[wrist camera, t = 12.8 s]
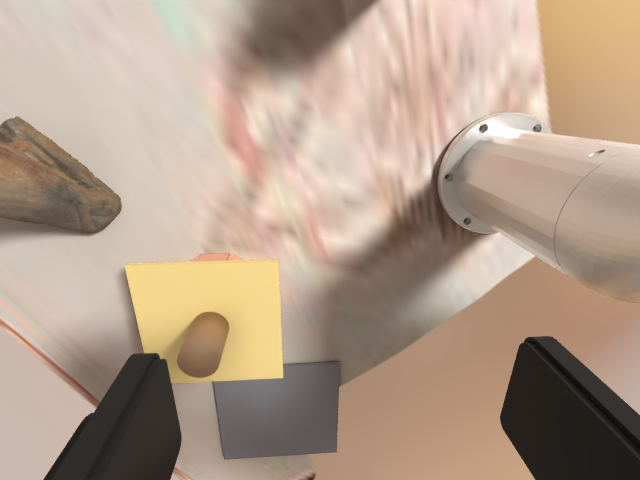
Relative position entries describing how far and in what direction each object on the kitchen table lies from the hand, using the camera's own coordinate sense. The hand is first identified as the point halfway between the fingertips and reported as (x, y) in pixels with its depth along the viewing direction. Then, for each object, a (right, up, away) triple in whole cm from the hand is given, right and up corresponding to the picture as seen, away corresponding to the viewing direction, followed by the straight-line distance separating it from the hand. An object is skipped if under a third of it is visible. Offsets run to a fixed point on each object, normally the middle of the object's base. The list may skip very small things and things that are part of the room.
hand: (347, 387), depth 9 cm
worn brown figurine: (-26, +10, +25) cm, 37 cm away
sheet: (-12, -5, +26) cm, 29 cm away
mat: (-6, -19, +38) cm, 43 cm away
